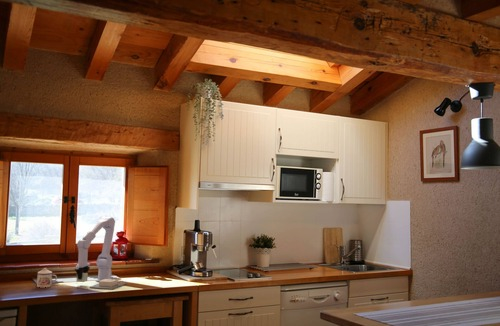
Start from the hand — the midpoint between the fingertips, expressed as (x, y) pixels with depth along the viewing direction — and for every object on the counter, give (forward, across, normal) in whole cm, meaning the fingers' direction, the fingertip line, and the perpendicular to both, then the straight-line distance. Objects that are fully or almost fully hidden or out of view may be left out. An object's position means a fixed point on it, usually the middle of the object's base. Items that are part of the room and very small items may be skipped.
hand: (82, 278), depth 326 cm
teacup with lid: (+5, +10, -19) cm, 22 cm away
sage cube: (+2, 0, 0) cm, 2 cm away
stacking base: (+4, -4, +17) cm, 18 cm away
